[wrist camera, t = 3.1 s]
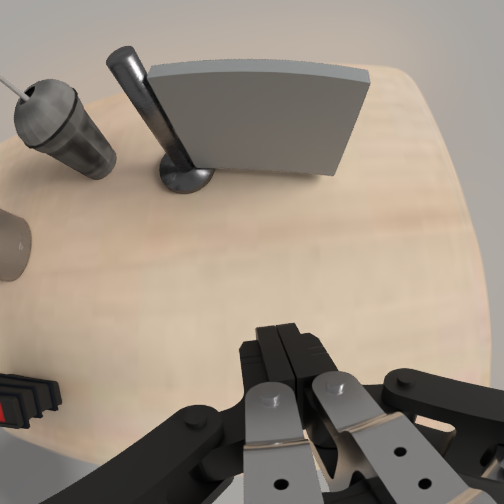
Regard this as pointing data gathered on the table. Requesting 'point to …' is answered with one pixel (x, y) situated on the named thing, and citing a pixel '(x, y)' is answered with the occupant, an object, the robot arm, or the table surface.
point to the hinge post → (157, 123)
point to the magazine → (26, 399)
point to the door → (262, 112)
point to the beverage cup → (61, 127)
